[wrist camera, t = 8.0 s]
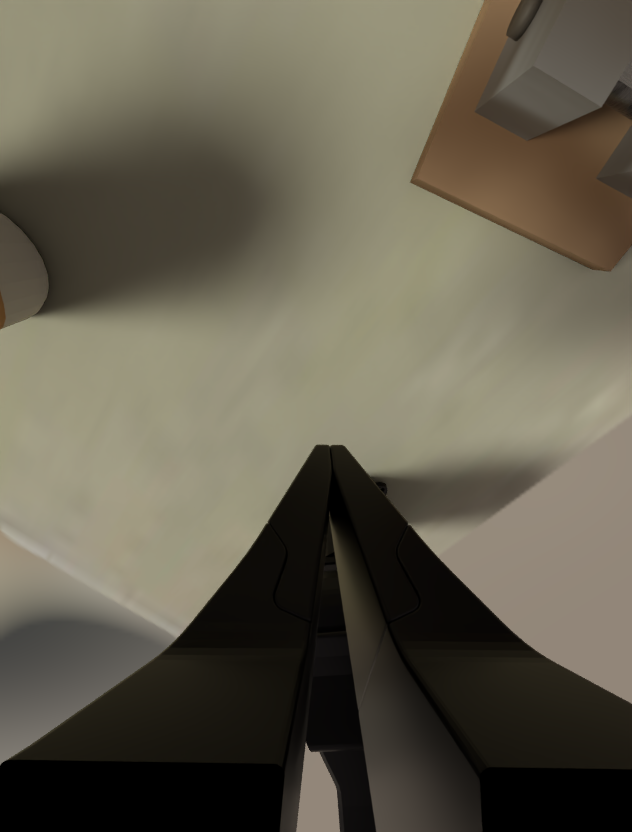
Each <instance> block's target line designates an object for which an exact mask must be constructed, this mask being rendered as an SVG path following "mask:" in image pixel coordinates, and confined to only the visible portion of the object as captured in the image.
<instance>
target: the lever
mask: <svg viewBox="0 0 632 832" xmlns="http://www.w3.org/2000/svg"><path fill="white" fill-rule="evenodd" d="M604 104H606V105H607V106H609V107H610V108H612V109H614V110H615V111H617V112H619V113H620V114H622V115H623V116H625V117H627V118H628V119H630V120H632V59H631V60H630V62H629V64H628V65H627V67H626V69H625V70H624V72H623V73H622V75H621V77H620V78H619V80H618V82H617V83H616V85H615V86H614V88H613V90H612V91H611V93H610V94H609V96H608V98H607V99H606V101H605V103H604Z"/></svg>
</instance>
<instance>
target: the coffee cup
mask: <svg viewBox="0 0 632 832" xmlns="http://www.w3.org/2000/svg"><path fill="white" fill-rule="evenodd" d="M48 290H49V282H48V274H47V271H46V268H45V265H44V262H43V259H42V258H41V256H40V254H39V253H38V251H37V249H36V247H35V246H34V244H33V243H32V242H31V241H30V239H29V238H28V237H27V236H26V235H25V233H24V232H23V231H22V230H21V229H20V228H19V227H18V226H17V225H16V224H14V223H13V222H12V221H11V220H10V219H9V218H8V217H6V216H5V215H3V214H1V213H0V329H2V328H5V327H7V326H10V325H12V324H15V323H17V322H20V321H23V320H25V319H28V318H29V317H31V316H33V315H34V314H36V313H37V312H38V311H39V310H40V308H41V307H42V305H43V304H44V301H45V300H46V298H47V294H48Z"/></svg>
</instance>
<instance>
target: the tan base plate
mask: <svg viewBox="0 0 632 832" xmlns="http://www.w3.org/2000/svg"><path fill="white" fill-rule="evenodd" d="M631 59H632V0H485V1H484V3H483V6H482V8H481V10H480V13H479V15H478V18H477V20H476V23H475V25H474V28H473V30H472V32H471V35H470V37H469V40H468V42H467V45H466V47H465V50H464V52H463V54H462V57H461V59H460V62H459V64H458V67H457V69H456V71H455V74H454V76H453V79H452V81H451V84H450V86H449V89H448V91H447V93H446V96H445V98H444V101H443V103H442V106H441V108H440V111H439V113H438V115H437V118H436V120H435V123H434V125H433V128H432V130H431V132H430V135H429V137H428V140H427V142H426V145H425V147H424V150H423V152H422V154H421V157H420V159H419V162H418V164H417V167H416V169H415V172H414V174H413V176H412V179H411V181H410V183H413V184H415V185H417V186H419V187H421V188H423V189H425V190H427V191H429V192H431V193H434V194H436V195H438V196H440V197H442V198H444V199H446V200H448V201H450V202H452V203H454V204H457V205H459V206H461V207H463V208H465V209H467V210H469V211H471V212H473V213H475V214H478V215H480V216H482V217H484V218H486V219H488V220H490V221H492V222H494V223H496V224H498V225H501V226H503V227H505V228H507V229H509V230H511V231H513V232H515V233H517V234H519V235H521V236H524V237H526V238H528V239H530V240H532V241H534V242H536V243H538V244H540V245H542V246H545V247H547V248H549V249H551V250H553V251H555V252H557V253H559V254H561V255H563V256H565V257H568V258H570V259H572V260H574V261H576V262H578V263H580V264H582V265H584V266H586V267H588V268H591V269H593V270H601V271H611V270H612V269H613V268H614V266H615V265H616V264H617V263H618V261H619V260H620V259H621V258H622V256H623V255H624V254H625V253H626V251H627V250H628V249H629V248H630V246H631V245H632V120H630V119H628V118H627V117H625V116H623V115H622V114H620V113H619V112H617V111H615V110H614V109H612V108H610V107H609V106H607V105H606V104H604V103H605V101H606V99H607V98H608V96H609V94H610V93H611V91H612V90H613V88H614V86H615V85H616V83H617V82H618V80H619V78H620V77H621V75H622V73H623V72H624V70H625V69H626V67H627V65H628V64H629V62H630V60H631Z"/></svg>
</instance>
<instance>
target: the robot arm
mask: <svg viewBox="0 0 632 832" xmlns="http://www.w3.org/2000/svg"><path fill="white" fill-rule="evenodd" d="M380 488H382V489H380ZM386 493H387V486H386V484H384V483H375V482H374V481H373V480H372V479H371V477H370V476H369V475H368V474H367V473H366V471H365V470H364V469H363V468H362V467H361V465H360V464H359V463H358V462H357V461H356V459H355V458H354V457H353V456H352V454H351V453H350V452H349V451H348V450H347V448H346V447H345V446H343V445H331V446H329V445H316V446H315V447H314V449H313V450H312V452H311V454H310V455H309V457H308V458H307V460H306V462H305V463H304V465H303V466H302V468H301V469H300V471H299V473H298V474H297V476H296V477H295V479H294V481H293V482H292V484H291V485H290V487H289V489H288V490H287V492H286V493H285V495H284V497H283V498H282V500H281V501H280V503H279V504H278V506H277V508H276V509H275V511H274V512H273V514H272V516H271V517H270V519H269V520H268V523H267V524H266V525H265V526H264V528H263V530H262V531H261V533H260V534H259V536H258V537H257V539H256V540H255V542H254V543H253V545H252V546H251V548H250V549H249V551H248V552H247V554H246V555H245V556H244V557H243V559H242V560H241V561H240V563H239V564H238V565H237V566H236V568H235V569H234V570H233V572H232V573H231V574H230V575H229V577H228V578H227V579H226V580H225V582H224V583H223V584H222V585H221V586H220V588H219V589H218V590H217V591H216V593H215V594H214V595H213V596H212V597H211V599H210V600H209V601H208V602H207V604H206V605H205V606H204V607H203V609H202V610H201V611H200V612H199V613H198V615H197V616H196V617H195V618H194V620H193V621H192V622H191V623H190V624H189V626H188V627H187V628H186V629H185V630H184V631H183V633H182V634H181V635H180V636H179V637H178V638H177V639H176V640H175V641H174V642H173V643H172V644H171V645H170V646H169V647H167V648H166V649H165V650H164V651H163V652H162V653H160V654H159V655H158V656H157V657H155V658H154V659H153V660H151V661H150V662H149V663H147V664H146V665H144V666H143V667H141V668H140V669H138V670H137V671H136V672H134V673H133V674H132V675H130V676H128V677H127V678H126V679H124V680H123V681H121V682H120V683H118V684H117V685H116V686H114V687H113V688H111V689H110V690H108V691H107V692H106V693H104V694H103V695H101V696H100V697H98V698H97V699H96V700H94V701H93V702H91V703H90V704H88V705H87V706H86V707H84V708H83V709H81V710H80V711H78V712H77V713H76V714H74V715H73V716H71V717H70V718H68V719H67V720H66V721H64V722H63V723H61V724H60V725H58V726H57V727H56V728H54V729H53V730H51V731H50V732H48V733H47V734H46V735H44V736H43V737H41V738H40V739H38V740H37V741H35V742H34V743H33V744H31V745H30V746H28V747H27V748H25V749H24V750H22V751H20V752H19V753H17V754H15V755H14V756H12V757H11V758H9V759H8V760H6V761H4V762H3V763H2V764H1V765H0V832H296V828H297V819H298V818H297V817H298V809H299V800H300V790H301V781H302V772H303V761H304V752H305V743H307V746H308V748H309V750H310V751H311V752H320V754H321V756H322V758H323V761H324V763H325V764H326V767H327V769H328V771H329V773H330V775H331V777H332V779H333V781H334V783H335V785H336V788H337V797H338V809H339V823H340V832H632V704H631V703H629V702H628V701H626V700H624V699H622V698H620V697H618V696H616V695H615V694H613V693H611V692H609V691H607V690H605V689H603V688H601V687H600V686H598V685H596V684H594V683H592V682H590V681H589V680H587V679H585V678H583V677H581V676H579V675H577V674H575V673H574V672H572V671H570V670H568V669H566V668H564V667H562V666H561V665H559V664H557V663H555V662H553V661H551V660H550V659H548V658H546V657H545V656H543V655H542V654H540V653H539V652H537V651H536V650H534V649H533V648H532V647H530V646H529V645H528V644H526V643H525V642H524V641H523V640H522V639H520V638H519V637H518V636H517V635H516V634H515V633H513V632H512V631H511V630H510V629H509V628H508V627H507V626H506V625H505V624H504V623H503V622H502V621H501V620H500V619H499V618H498V617H497V616H496V615H495V614H494V613H493V612H492V611H491V610H490V609H489V608H488V607H487V606H486V605H485V604H484V603H483V602H482V601H481V600H480V599H479V598H478V597H477V596H476V595H475V594H474V593H472V591H471V590H470V589H469V588H468V587H466V585H465V584H464V583H463V582H462V581H461V580H460V579H459V578H457V576H456V575H455V574H454V573H452V571H451V570H450V569H449V568H448V567H447V566H446V565H445V564H444V563H443V562H442V561H441V560H440V559H439V558H438V557H437V556H436V555H435V554H434V552H433V551H432V550H431V549H430V548H429V547H428V546H427V544H426V543H425V542H424V541H423V540H422V539H421V538H420V536H419V535H418V534H417V533H416V532H415V530H414V529H413V528H412V527H411V526H410V525H408V522H407V521H406V520H405V518H404V517H403V516H402V515H401V514H400V512H399V511H398V510H397V509H396V508H395V506H394V505H393V504H392V503H391V502H390V500H389V499H388V498H387V497H386Z"/></svg>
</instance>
